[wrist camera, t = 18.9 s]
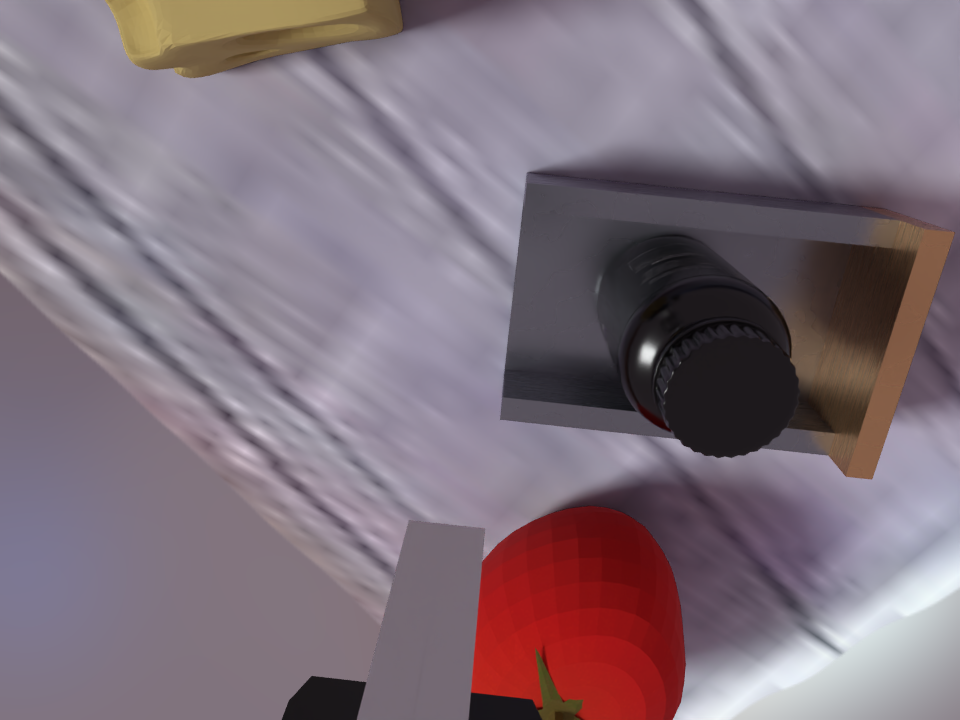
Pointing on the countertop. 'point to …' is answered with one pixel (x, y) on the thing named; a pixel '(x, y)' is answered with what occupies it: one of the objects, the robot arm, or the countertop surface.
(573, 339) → the guide channel
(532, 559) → the tomato
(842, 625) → the countertop surface
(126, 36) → the cheese
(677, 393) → the supplement bottle
